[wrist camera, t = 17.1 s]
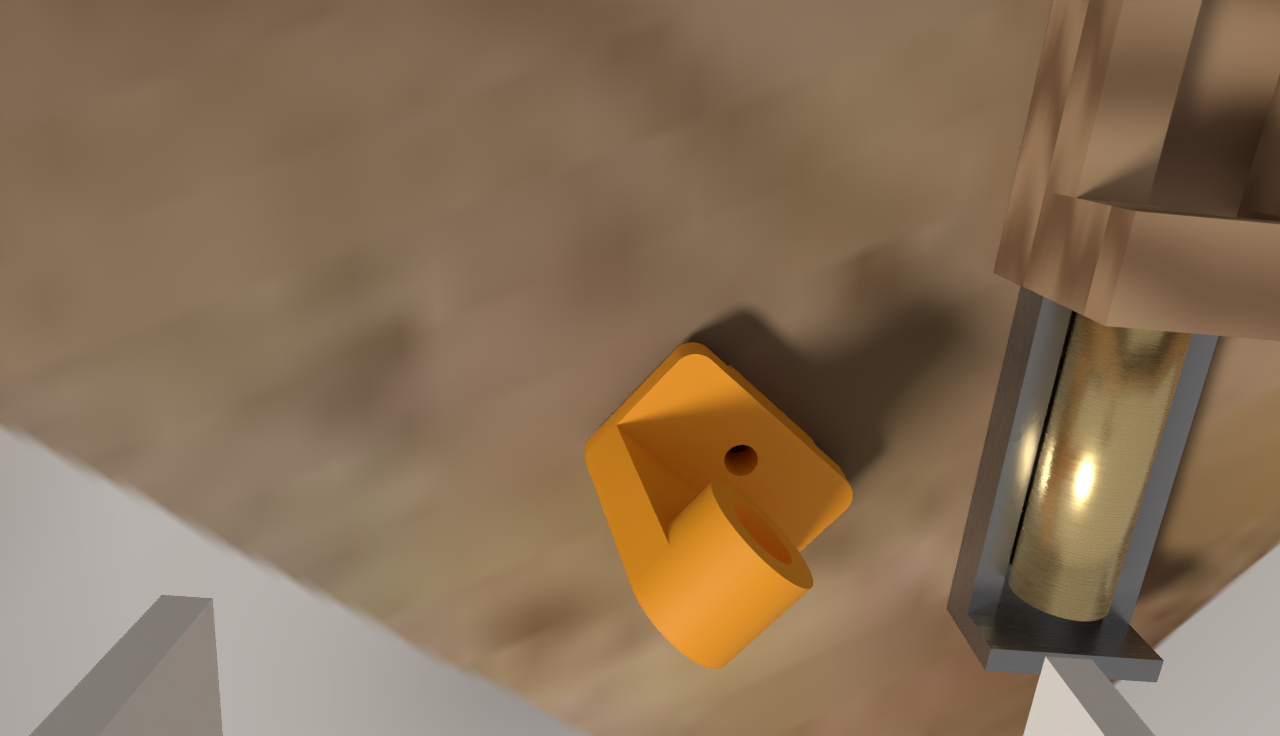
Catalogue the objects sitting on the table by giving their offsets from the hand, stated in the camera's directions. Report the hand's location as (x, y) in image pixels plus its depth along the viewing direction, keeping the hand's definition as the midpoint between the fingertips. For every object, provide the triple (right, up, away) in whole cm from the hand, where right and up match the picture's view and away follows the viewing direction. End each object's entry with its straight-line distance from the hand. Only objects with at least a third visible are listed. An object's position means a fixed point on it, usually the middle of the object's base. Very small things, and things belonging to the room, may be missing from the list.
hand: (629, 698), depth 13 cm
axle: (+21, +2, +27) cm, 34 cm away
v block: (+21, +1, +28) cm, 35 cm away
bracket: (+4, +1, +28) cm, 28 cm away
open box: (+22, +16, +23) cm, 36 cm away
